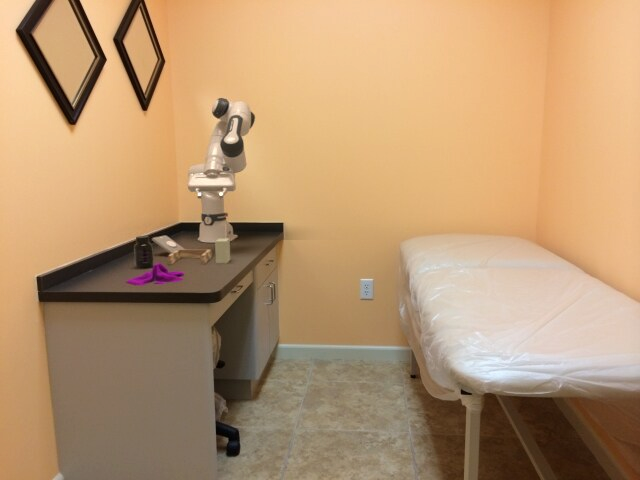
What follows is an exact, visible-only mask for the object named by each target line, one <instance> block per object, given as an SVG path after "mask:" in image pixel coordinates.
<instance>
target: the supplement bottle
mask: <svg viewBox="0 0 640 480" xmlns="http://www.w3.org/2000/svg"><path fill="white" fill-rule="evenodd" d="M135 242H136V243H135V244H134V245H133V252H134V253H133V254H134V264H135V268H136V269H149V268H153V266H154V265H155V263H154V250H153V244H152V243H151V242H150V236H149V235H138V236H136V237H135Z"/></svg>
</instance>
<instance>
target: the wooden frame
mask: <svg viewBox="0 0 640 480" xmlns="http://www.w3.org/2000/svg"><path fill="white" fill-rule="evenodd" d="M212 256H213V255H212V249H211V248H203V249H202V248H201V249H200V248H199V249H193V248H191V249H185V250H176V251H175V252H173V253H172V254H170V253H169V254H168V255H167V265H168V266H169V265H173V264H174V263H175V262H176V261H178V260H180V259H200V264H201V265H205V264H206V263H207V262H208V261H210V260H211V258H213V257H212Z"/></svg>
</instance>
